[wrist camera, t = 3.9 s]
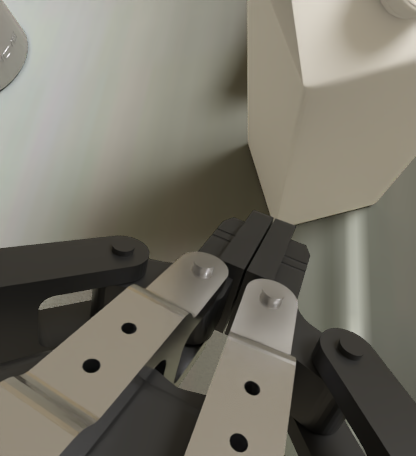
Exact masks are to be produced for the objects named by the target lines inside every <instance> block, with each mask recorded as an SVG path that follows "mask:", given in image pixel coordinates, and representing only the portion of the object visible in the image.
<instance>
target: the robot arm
mask: <svg viewBox="0 0 416 456" xmlns="http://www.w3.org/2000/svg"><path fill="white" fill-rule="evenodd" d="M27 52H28V42H27V37H26V35H25V33H24V31H23V29H22V28H21V26H20V25H19V23H18V22H17V20H16V19H15V18H14V16H13V15H12V13H11V12H10V10H9V9H8V7H7V6H6V5H5V3H4V2H3V0H0V90H1V89H3V88H4V87H5V86H6V85H8V84H9V83H10V82H11V81H12V80H13V79H14V78H15V77H16V75H17V74H18V73H19V72H20V70H21V68H22V66H23V64H24V63H25V59H26V56H27ZM273 220H274V217H271V216H268V215H266V214H263V213H261V212H258V211H255V210H253V211H252V213H251V214H250V215H249V217H248V218H247V220H246V221H245V222H244V221H242V220H239V219H237V218H231V219H228V220H225V221H223V222H222V223H221V224H220V226H219V227H218V228H217V230H215V232H214V233H213V234H212V235H211V236H210V238H209V239H208V240H207V241H206V242H205V244H204V245H203V246H202V247H201V248H200V250H199V251H198V252H189V253H186V254H184V255H182V256H181V257H180V258H179V259H178V260H176V261H175V262H174V263H168V262H162V261H157V260H152V259H149V250H148V248H147V246H146V245H145V244H144V243H143V242H141V241H139V240H137V239H135V238H132V237H128V236H109V237H100V238H91V239H81V240H72V241H63V242H54V243H45V244H36V245H26V246H17V247H8V248H0V456H285V455H284V452H285V445H286V437H287V432H288V434H289V436H290V438H291V441H292V443H293V445H294V447H295V449H296V452H297V454H298V456H365V454H364V453H363V451H362V449H361V448H360V446H359V444H358V443H357V441H356V439H355V437H354V436H353V434H352V432H351V431H350V429H349V427H348V426H347V424H346V422H345V421H344V420H345V419H347V421H348V423H349V424H350V426H351V428H352V429H353V431H354V433H355V434H356V436H357V438H358V439H359V441H360V443H361V444H362V446H363V448H364V450H365V452H366V454H367V456H416V403H415V402H414V400H413V399H412V398H411V397H410V395H409V394H408V393H407V391H406V390H405V389H404V388H403V386H402V385H401V384H400V382H399V381H398V380H397V379H396V377H395V376H394V375H393V373H392V372H391V371H390V370H389V368H388V367H387V366H386V364H385V363H384V362H383V361H382V359H381V358H380V357H379V355H378V354H377V353H376V351H375V350H374V349H373V348H372V347H371V345H370V344H369V343H368V342H366V341H365V340H364V339H363V338H361V337H360V336H358V335H357V334H355V333H353V332H350V331H348V330H345V329H340V328H331V329H327V330H325V331H324V332H323V333H322V332H320V331H319V330H317V329H316V328H315V327H313V326H312V325H311V324H309V323H308V322H307V321H306V320H305V319H304V318H303V316H302V315H301V313H300V312H299V310H298V301H297V298H298V295H299V292H300V288H301V285H302V281H303V278H304V275H305V271H306V268H307V264H308V261H309V258H310V254H309V251H308V249H307V246H306V245H304V244H301V243H298V242H296V241H293V240H291V238H292V235H293V233H294V230H295V228H296V226H295V225H292V224H290V223H287V222H284V221H282V220H279V219H277V218H275V220H274V222H273ZM272 223H273V224H272ZM90 289H92V300H90V301H85V302H79V303H74V304H69V305H64V306H59V307H54V308H48V309H43V310H38V308H39V306H40V304H41V303H42V302H43V301H44V300H46V299H47V298H49V297H52V296H56V295H62V294H68V293H73V292H79V291H84V290H90ZM229 319H230V320H229ZM228 321H229V323H228ZM227 323H228V326H227V329H226V332H225V334H226V335H228V338H227V340H226V343H225V346H224V349H223V351H222V354H221V357H220V360H219V362H218V365H217V368H216V370H215V373H214V376H213V379H212V381H211V384H210V387H209V390H208V392H207V395H203V394H199V393H195V392H191V391H187V390H183V389H180V388H178V387H179V385H180V384H181V382H182V381H183V380H184V378H185V377H186V375H187V374H188V372H189V371H190V369H191V368H192V366H193V365H194V363H195V362H196V360H197V359H198V358H199V356H200V355H201V353H202V352H203V350H204V348H205V346H206V343H207V340H208V339H209V338H210V337H211V335H212V333H213V331H214V330H217V331H219V332H221V333H223V331H224V329H225V327H226V325H227Z"/></svg>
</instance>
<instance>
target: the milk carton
mask: <svg viewBox="0 0 416 456" xmlns="http://www.w3.org/2000/svg"><path fill="white" fill-rule="evenodd" d="M247 118H248V145H249V148H250V151H251V154H252V158H253V161H254V164H255V167H256V171H257V174H258V177H259V180H260V184H261V187H262V190H263V193H264V196H265V200H266V203H267V206H268V209H269V213H270V216H271V217H274V220H275V218H277V219H279V220H282V221H284V222H287V223H290V224H292V225H296V224H299V223H303V222H307V221H311V220H315V219H319V218H323V217H327V216H331V215H335V214H339V213H342V212H346V211H350V210H354V209H358V208H362V207H366V206H369V205H373V204H375V203H376V202H377V201H378V200H379V199H380V198H381V196H382V195H383V194H384V193H385V192H386V190H387V189H388V188H389V187H390V186H391V185H392V183H393V182H394V181H395V180H396V179H397V177H398V176H399V175H400V174H401V173H402V172H403V170H404V169H405V168H406V167H407V166H408V165H409V163H410V162H411V161H412V160H413V159H414V157H415V156H416V0H247ZM274 220H273V222H274Z"/></svg>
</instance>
